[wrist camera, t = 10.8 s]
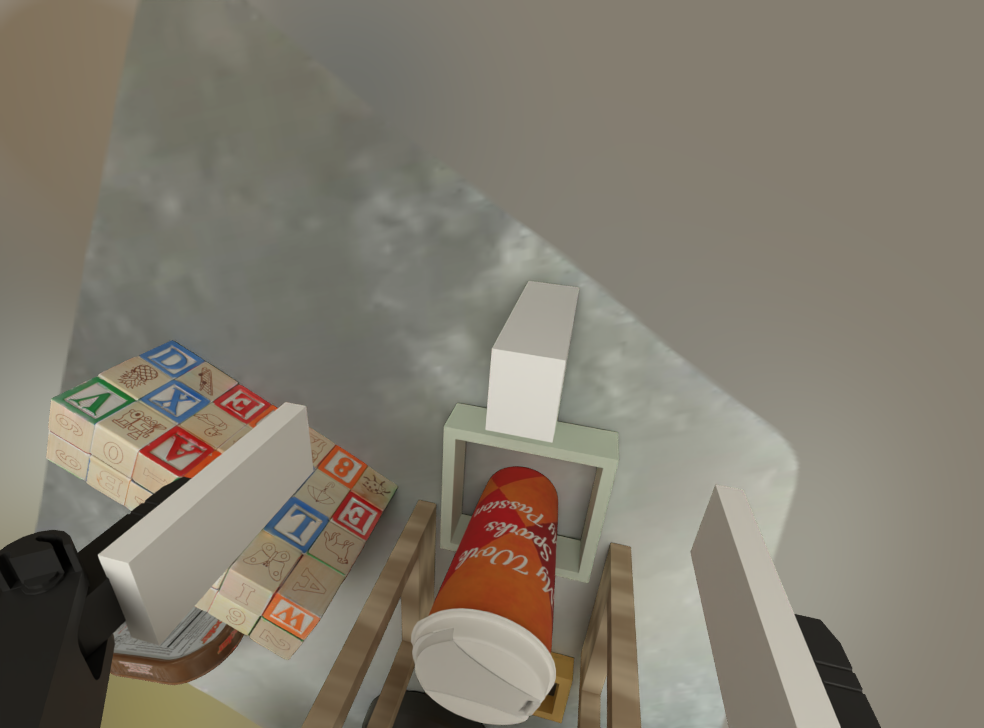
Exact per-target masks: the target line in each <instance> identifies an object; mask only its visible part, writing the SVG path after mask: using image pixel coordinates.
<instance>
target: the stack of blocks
mask: <svg viewBox="0 0 984 728" xmlns="http://www.w3.org/2000/svg"><path fill="white" fill-rule="evenodd" d="M277 409H278V408H277V407H275V406H274V405H271V404H270V403H268V402H267V401H265V400H264V399H262V398H261V397H259V396H258V395H256V394H255V393H253V392H251V391H250V390H248V389H247V388H245V387H244V386H242V385H239V384H238V382H237V381H235V380H234V379H232V378H231V377H229V376H228V375H226V374H224V373H223V372H221V371H220V370H218V369H217V368H215V367H214V366H212V365H210V364H209V363H207V362H205V361H204V360H203V359H201V358H200V357H198V356H197V355H195V354H194V353H192V352H191V351H189V350H187V349H186V348H184V347H183V346H181V345H179V344H178V343H176V342H175V341H173V340H172V341H169V342H167V343H165V344H163V345H161V346H158V347H156V348H154V349H152V350H150V351H147V352H145V353H143V354H141V355H139V356H138V357H134V358H132V359H130V360H127V361H125V362H123V363H121V364H119V365H117V366H115V367H113V368H110V369H108V370H106V371H104V372H102V373H100V374H99V375H98V377H95V378H92V379H90V380H88V381H86V382H84V383H82V384H80V385H78V386H76V387H74V388H72V389H70V390H68V391H66V392H64V393H62V394H60V395H58V396H55V397H53V398H52V399H51V407H50V418H49V424H48V428H49V430H50V431H49V437H48V446H47V455H46V458H47V459H48V460H49V461H51V462H53V463H55V464H56V465H58V466H60V467H61V468H63V469H65V470H67V471H68V472H70V473H72V474H73V475H75V476H76V477H78V478H80V479H81V480H86V483H87V484H88V485H90V486H92V487H93V488H95V489H97V490H98V491H100V492H102V493H103V494H105V495H107V496H108V497H110V498H112V499H113V500H115V501H117V502H118V503H120V504H122V505H125V506H126V507H127V508H128V509H129V510H131V511H132V510H133V509H135V508H136V507H137V506H138V505H140V504H141V503H145V500H146V499H147V498H149V497H150V496H151V495H153V494H154V493H155V492H156V491H158V490H159V489H160V488H162V487H163V486H165V485H167V484H169V483H171V482H174V481H176V480H178V479H180V478H182V477H188V478H193V477H194V476H195V475H197V474H198V473H199V472H200V471H202V470H203V469H204V468H205V467H206V466H208V465H209V464H210V463H211V462H213V461H214V460H215V459H216V458H218V457H219V456H220V455H221V454H222V453H224V452H225V451H226V450H227V449H229V448H230V447H231V446H232V445H234V444H235V443H236V442H237V441H238V440H240V439H241V438H242V437H243V436H245V435H246V434H247V433H248V432H250V431H251V430H252V429H253V428H254V427H256V426H257V425H258V424H259V423H261V422H262V421H263V420H264V419H266V418H267V417H268V416H269V415H270V414H272V413H273V412H274V411H275V410H277ZM309 435H310V444H311V453H312V461H313V470H314V471H313V472H312V474H311V475H310V476H309V477H308V478H307V479H306V480H305V482H304V483H303V484H302V485H301V486H300V487H299V488H298V489H297V491H296V492H295V493H294V494H293V495H292V496H291V497H290V498H289V500H288V501H287V502H286V503H285V504H284V505H283V506H282V508H281V509H280V510H279V511H278V512H277V513H276V514H275V515H274V517H273V518H272V519H271V520H270V521H269V522H268V523H267V525H266V526H265V527H264V528H263V529H262V530H261V531H260V532H259V534H258V535H257V536H256V537H255V538H254V539H253V540H252V541H251V543H250V544H249V545H248V546H247V547H246V548H245V549H244V551H243V552H242V553H241V554H240V555H239V556H238V557H237V558H236V560H235V561H234V562H233V563H232V564H231V565H230V566H229V568H228V569H227V570H226V571H225V572H224V573H223V574H222V575H221V577H220V578H219V579H218V580H217V581H216V582H215V583H214V584H213V586H212V587H211V588H210V589H209V590H208V591H207V592H206V594H205V595H204V596H203V597H202V598H201V599H200V600H199V601H198V603H197V604H196V605H195V607H197V608H199V609H201V610H203V611H206V612H208V613H209V614H210V615H212V616H214V617H215V618H217V619H219V620H220V621H222V622H224V623H226V624H228V625H229V626H231V627H233V628H234V629H236V630H238V631H239V632H241V633H243V634H245V635H249V637H250V638H251V639H252V640H253V641H255V642H257V643H258V644H260V645H262V646H263V647H265V648H267V649H268V650H270V651H272V652H274V653H275V654H277V655H278V656H280V657H282V658H283V659H286V660H289V659H290V658H291V656H292V655H293V654H294V653H295V652H296V650H297V649H298V648H299V647H300V646H301V644H302V643H303V642H304V640H305V639H306V638H307V636H308V635H309V634H310V633H311V631H312V630H313V629H314V627H315V626H316V625H317V623H318V622H319V621H320V619H321V618H322V616H323V614H324V613H325V611H326V609H327V607H328V606H329V604H330V602H331V601H332V599H333V597H334V595H335V594H336V592H337V590H338V589H339V587H340V585H341V584H342V582H343V581H344V580H345V578H346V577H347V575H348V573H349V572H350V570H351V568H352V566H353V564H354V563H355V561H356V559H357V557H358V556H359V554H360V553H361V551H362V549H363V547H364V545H365V543H366V541H367V540H368V538H369V536H370V534H371V533H372V531H373V529H374V527H375V526H376V524H377V522H378V520H379V518H380V517H381V515H382V512H383V511H384V509H385V508H386V506H387V505H388V503H389V501H390V500H391V498H392V496H393V494H394V493H395V491H396V489H397V487H398V486H397V485H396V484H394V483H393V482H391V481H390V480H388V479H387V478H385V477H384V476H382V475H381V474H379V473H377V472H376V471H374V470H373V469H371V468H370V467H368V466H367V465H366V464H365V463H364V462H362V461H360V460H359V459H357V458H356V457H354V456H353V455H351V454H350V453H348V452H347V451H345V450H344V449H342V448H341V447H339V446H337V445H335V444H334V443H333V442H331V441H330V440H329V439H327V438H326V437H324V436H322V435H321V434H319V433H318V432H316V431H315V430H313V429H312V428H310V427H309Z"/></svg>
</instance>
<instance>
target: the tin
mask: <svg viewBox="0 0 984 728" xmlns="http://www.w3.org/2000/svg"><path fill="white" fill-rule="evenodd" d="M113 635H114V639H115V647H114V653H113V658H112V664H111V670H110V673H111V674H113V675H115V676H120V677H127V678H133V679H139V680H145V681H151V682H157V683H162V684H168V685H178V684H183V683H187V682H190V681H192V680H195V679H197V678H199V677H201V676H203V675H205V674H207V673H208V672H210V671H211V670H213V669H214V668H216V667H217V666H218V665H220V664H221V663H222V662H223V661H224V660H225V659H226V658H227V657H228V656H229V655H230V654H231V653H232V652H233V651H234V650H235V648H236V647H237V646H238V644H239V643H240V641H241V639H242V637H243V635H244V634H243V633H241V632H239V631H238V630H236V629H234V628H233V627H231V626H229V625H228V624H226V623H224V622H222V621H220V620H219V619H217V618H215V617H214V616H212V615H210V614H209V613H208V612H206V611H203V610H201V609H199V608H197V607H195V606H194V607H193V608H192V609H191V611H190V612H189V613H188V614H187V615H186V616H185V617H184V618H183V620H182V621H181V622H180V623H179V624H178V625H177V626H176V627H175V629H174V630H173V631H172V632H171V633H170V634H169V635H168V637H167V638H166V639H165V640H164V641H163V642H162V643H161V644H160V646H159V645H156V644H152V643H149V642H145V641H142V640H139V639H135V638H132V637H131V635H130V632H129V630H128V627H127V625H126V622H124V623H123V624H122V625H121V626H120V627H119V628H118V629H117V630H116V631H115V632H114V633H113Z"/></svg>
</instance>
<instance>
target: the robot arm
mask: <svg viewBox="0 0 984 728" xmlns="http://www.w3.org/2000/svg"><path fill="white" fill-rule="evenodd" d="M313 471H314V470H313V461H312V453H311V444H310V435H309V426H308V418H307V409H306V406H303V405H298V404H292V403H287V402H285V403H284V404H283V405H281V406H280V407H279V408H278V409H277V410H275V411H274V412H273V413H272V414H270V415H269V416H268V417H267V418H266V419H264V420H263V421H262V422H261V423H259V424H258V425H257V426H256V427H254V428H253V429H252V430H251V431H250V432H248V433H247V434H246V435H245V436H243V437H242V438H241V439H240V440H238V441H237V442H236V443H235V444H234V445H232V446H231V447H230V448H229V449H227V450H226V451H225V452H224V453H222V454H221V455H220V456H219V457H218V458H216V459H215V460H214V461H213V462H211V463H210V464H209V465H208V466H206V467H205V468H204V469H203V470H202V471H200V472H199V473H198V474H197V475H195V476H194V477H193V478H188V477H182V478H180V479H178V480H176V481H174V482H171V483H169V484H167V485H165V486H163V487H162V488H160V489H159V490H158V491H156V492H155V493H154V494H153V495H151V496H150V497H149V498H147V499H146V500H145V503H141V504H140V505H138V506H137V507H136V508H135V509H133V510H132V511H131V513H130V514H127V515H126V516H124V517H123V518H122V519H120V520H119V521H118V522H117V523H115V524H114V525H113V526H111V527H110V528H109V529H108V530H106V531H105V532H104V533H102V534H101V535H100V536H99V537H97V538H96V539H95V540H93V541H92V542H91V543H90V544H88V545H87V546H86V547H84V548H83V549H82V550H81V551H79V552H78V553H77V550H76V548H75V546H74V544H73V541H72V539H71V537H70V536H69V535H68V534H67V533H66V532H64V531H58V530H49V531H41V532H37V533H34V534H31V535H28V536H25V537H22V538H20V539H18V540H16V541H14V542H12V543H10V544H9V545H7V546H6V547H4V548H3V549H2V550H0V728H100V725H101V720H102V714H103V709H104V703H105V698H106V692H107V686H108V681H109V674H110V670H111V664H112V658H113V653H114V647H115V639H114V635H113V633H114V632H115V631H116V630H117V629H118V628H119V627H120V626H121V625H122V624H123V623H124V622H126V625H127V627H128V630H129V632H130V635H131V637H132V638H135V639H139V640H142V641H145V642H149V643H152V644H156V645H159V646H160V644H161V643H162V642H163V641H164V640H165V639H166V638H167V637H168V635H169V634H170V633H171V632H172V631H173V630H174V629H175V627H176V626H177V625H178V624H179V623H180V622H181V621H182V620H183V618H184V617H185V616H186V615H187V614H188V613H189V612H190V611H191V609H192V608H193V607H194V606H195V605H196V604H197V603H198V601H199V600H200V599H201V598H202V597H203V596H204V595H205V594H206V592H207V591H208V590H209V589H210V588H211V587H212V586H213V584H214V583H215V582H216V581H217V580H218V579H219V578H220V577H221V575H222V574H223V573H224V572H225V571H226V570H227V569H228V568H229V566H230V565H231V564H232V563H233V562H234V561H235V560H236V558H237V557H238V556H239V555H240V554H241V553H242V552H243V551H244V549H245V548H246V547H247V546H248V545H249V544H250V543H251V541H252V540H253V539H254V538H255V537H256V536H257V535H258V534H259V532H260V531H261V530H262V529H263V528H264V527H265V526H266V525H267V523H268V522H269V521H270V520H271V519H272V518H273V517H274V515H275V514H276V513H277V512H278V511H279V510H280V509H281V508H282V506H283V505H284V504H285V503H286V502H287V501H288V500H289V498H290V497H291V496H292V495H293V494H294V493H295V492H296V491H297V489H298V488H299V487H300V486H301V485H302V484H303V483H304V482H305V480H306V479H307V478H308V477H309V476H310V475H311V474H312V472H313ZM691 557H692V561H693V566H694V570H695V575H696V580H697V584H698V589H699V593H700V598H701V603H702V607H703V612H704V616H705V621H706V625H707V630H708V635H709V639H710V644H711V648H712V653H713V657H714V662H715V667H716V671H717V676H718V680H719V685H720V690H721V694H722V699H723V703H724V708H725V712H726V717H727V722H728V726H729V728H881V727H880V725H879V723H878V720H877V718H876V716H875V714H874V712H873V710H872V708H871V706H870V704H869V702H868V700H867V698H866V695H865V694H863V693H862V687H861V685H860V683H859V681H858V679H857V677H856V675H855V673H853V672H852V667H851V664H850V662H849V660H848V658H847V656H846V654H845V652H844V650H843V648H842V646H841V643H840V642H839V641H838V640H837V639H836V638H835V636H834V635H833V634H832V633H831V632H830V630H829V629H828V628H827V627H826V626H825V625H824V623H823V622H822V621H821V620H819V619H815V618H810V617H806V616H802V615H797V614H794V613H793V610H792V608H791V605H790V603H789V600H788V598H787V595H786V593H785V590H784V588H783V586H782V583H781V581H780V578H779V576H778V574H777V571H776V569H775V566H774V564H773V561H772V559H771V556H770V554H769V551H768V549H767V547H766V544H765V542H764V539H763V537H762V534H761V532H760V530H759V527H758V525H757V522H756V520H755V517H754V515H753V513H752V510H751V508H750V505H749V503H748V500H747V498H746V495H745V493H744V491H743V490H742V489H736V488H731V487H726V486H721V485H715V487H714V490H713V493H712V495H711V498H710V501H709V503H708V506H707V509H706V511H705V514H704V517H703V520H702V522H701V525H700V528H699V530H698V533H697V536H696V538H695V541H694V544H693V547H692V549H691ZM378 699H379V696H378V697H377V698H376V699H374V700H373V702H372V703H371V705H370V707H369V710H368V712H367V714H366V717H365V719H364V722H363V725H362V728H367V726H368V723H369V721H370V718H371V716H372V713H373V711H374V709H375V706H376V704H377V701H378ZM392 728H484V727H483V726H482V725H481V724H480V723H479V722H477V721H473V720H470V719H467V718H464V717H462V716H460V715H457V714H455V713H453V712H451V711H449V710H447V709H446V708H444V707H443V706H441V705H440V704H438V703H437V702H436V701H434V700H433V699H432V698H431V697H430V696H429V695H426V694H422V693H417V692H408V691H405V694H404V697H403V700H402V702H401V705H400V708H399V711H398V713H397V716H396V719H395V722H394V724H393V727H392Z"/></svg>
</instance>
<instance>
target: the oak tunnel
mask: <svg viewBox="0 0 984 728" xmlns="http://www.w3.org/2000/svg"><path fill="white" fill-rule="evenodd" d="M435 538H436V504H435V503H431V502H426V501H422V500H419V501H418V503H417V505H416V506H415V508H414V510H413V512H412V514H411V516H410V518H409V520H408V522H407V524H406V526H405V528H404V530H403V532H402V534H401V536H400V537H399V539H398V541H397V543H396V545H395V547H394V549H393V551H392V553H391V555H390V557H389V559H388V561H387V563H386V565H385V567H384V568H383V570H382V572H381V574H380V576H379V578H378V580H377V582H376V584H375V586H374V588H373V590H372V592H371V594H370V596H369V597H368V599H367V601H366V603H365V605H364V607H363V609H362V611H361V613H360V615H359V617H358V619H357V621H356V623H355V625H354V627H353V628H352V630H351V632H350V634H349V636H348V638H347V640H346V642H345V644H344V646H343V648H342V650H341V652H340V654H339V656H338V658H337V659H336V661H335V663H334V665H333V667H332V669H331V671H330V673H329V675H328V677H327V679H326V681H325V683H324V685H323V687H322V689H321V690H320V692H319V694H318V696H317V698H316V700H315V702H314V704H313V706H312V708H311V710H310V712H309V714H308V716H307V718H306V720H305V721H304V723H303V725H302V727H301V728H342V726H343V724H344V722H345V719H346V717H347V715H348V713H349V710H350V708H351V706H352V704H353V702H354V699H355V697H356V695H357V693H358V690H359V688H360V686H361V684H362V681H363V679H364V677H365V675H366V673H367V670H368V668H369V666H370V664H371V661H372V659H373V657H374V655H375V652H376V650H377V648H378V646H379V643H380V641H381V639H382V637H383V635H384V632H385V630H386V628H387V626H388V623H389V621H390V619H391V617H392V614H393V612H394V610H395V608H396V606H397V603H398V601H399V599H400V597H401V610H402V642H401V644H400V647H399V649H398V652H397V654H396V657H395V659H394V662H393V664H392V667H391V669H390V672H389V674H388V676H387V679H386V681H385V684H384V686H383V689H382V691H381V694H380V696H379V699H378V701H377V704H376V706H375V709H374V711H373V713H372V716H371V718H370V721H369V723H368V726H367V728H392V727H393V724H394V722H395V719H396V716H397V713H398V711H399V708H400V705H401V702H402V700H403V697H404V694H405V691H406V689H407V686H408V683H409V680H410V677H411V675H412V672H413V669H414V666H415V663H414V659H413V655H412V650H413V645H412V643H411V634H412V631H413V628H414V626H415V625H416V623H417V622H418V621H420V620H422V619H424V618H426V617H428V615H429V613H430V611H431V608H432V606H433V604H434V576H435ZM606 676H607V728H641V717H640V699H639V682H638V664H637V647H636V629H635V612H634V594H633V577H632V559H631V547H629V546H624V545H620V544H615V543H611V544H610V547H609V551H608V555H607V559H606V562H605V566H604V570H603V574H602V577H601V581H600V585H599V588H598V592H597V596H596V600H595V603H594V607H593V611H592V615H591V618H590V622H589V626H588V630H587V633H586V637H585V641H584V645H583V648H582V652H581V668H580V688H579V708H578V727H577V728H600V695H601V692H602V689H603V685H604V682H605V679H606Z"/></svg>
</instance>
